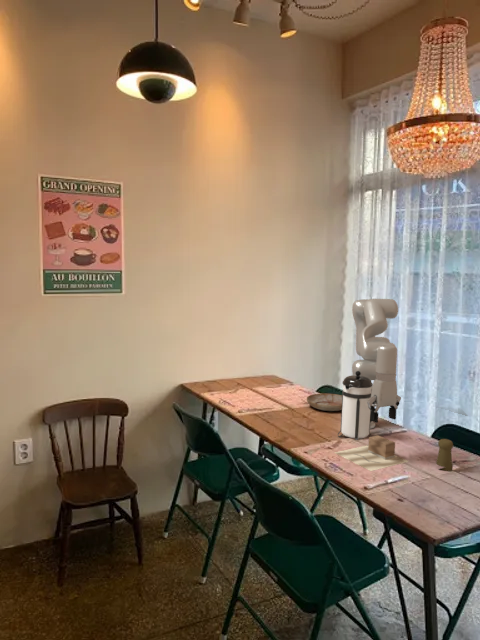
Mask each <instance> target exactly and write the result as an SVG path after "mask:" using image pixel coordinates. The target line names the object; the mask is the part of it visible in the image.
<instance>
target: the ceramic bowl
mask: <svg viewBox="0 0 480 640" xmlns="http://www.w3.org/2000/svg"><path fill="white" fill-rule="evenodd" d="M306 402H307V403H308V404H309V405H310V406H311V407H313V409H317V410H321V411H327V412H339V411H342V394H336V393H322V392H321V393H313V394H310V395H307V397H306Z"/></svg>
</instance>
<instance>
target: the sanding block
mask: <svg viewBox="0 0 480 640" xmlns="http://www.w3.org/2000/svg"><path fill="white" fill-rule="evenodd" d="M368 452H370V453H372V454H374V455H376V456H378V457H381V458H383V459H385V460H386V459H390V458H394V455H395V454H396V453H395V452H396V442H395V441H392V440H390V439H388V438H385V437H383V436H381V435H373V436H370V437H369V436H368Z"/></svg>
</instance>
